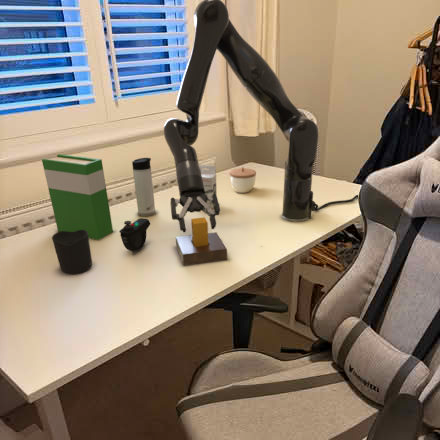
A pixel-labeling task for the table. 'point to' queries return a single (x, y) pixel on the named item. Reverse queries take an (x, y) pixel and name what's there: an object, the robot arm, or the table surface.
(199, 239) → the ochre peg
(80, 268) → the pen holder
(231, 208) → the table surface
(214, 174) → the ink box
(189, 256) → the walnut stand
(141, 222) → the controller
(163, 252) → the table surface
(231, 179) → the trinket box
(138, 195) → the travel mug
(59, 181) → the hardback book
